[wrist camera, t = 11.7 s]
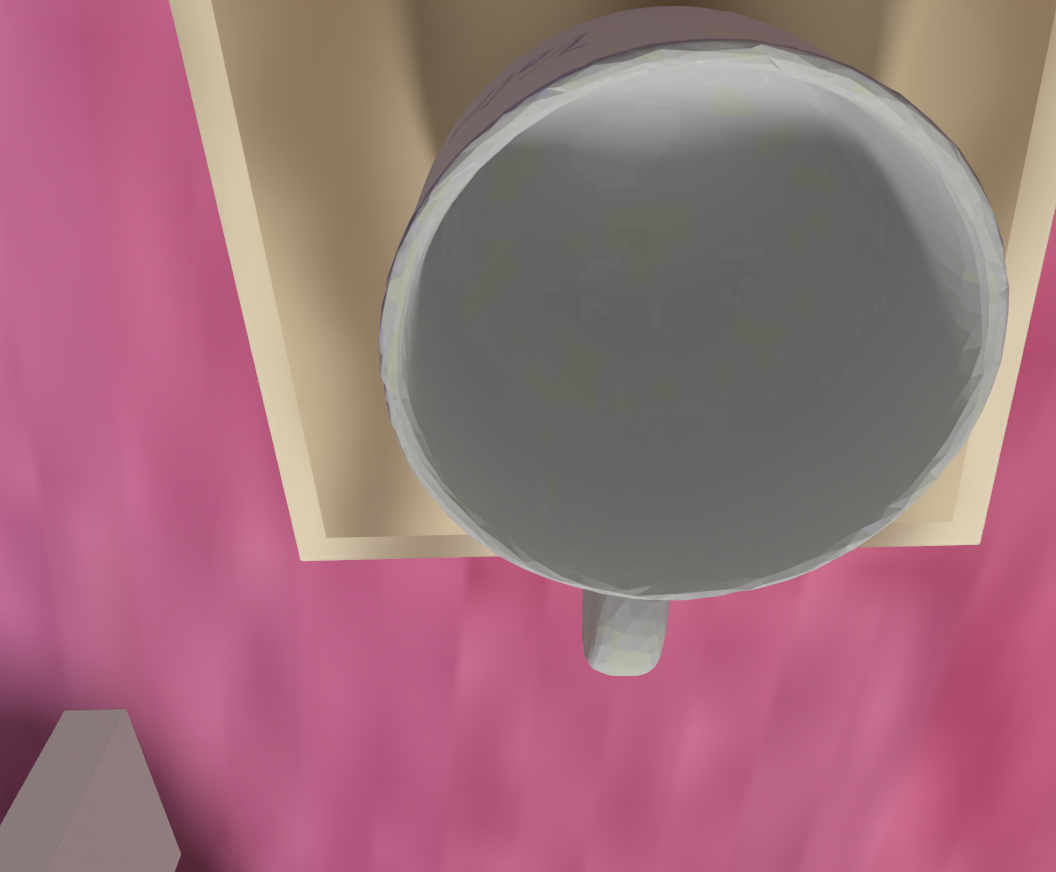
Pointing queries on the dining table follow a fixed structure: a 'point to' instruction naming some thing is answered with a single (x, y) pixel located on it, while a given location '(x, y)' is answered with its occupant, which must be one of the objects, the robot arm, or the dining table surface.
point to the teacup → (688, 314)
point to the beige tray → (412, 146)
